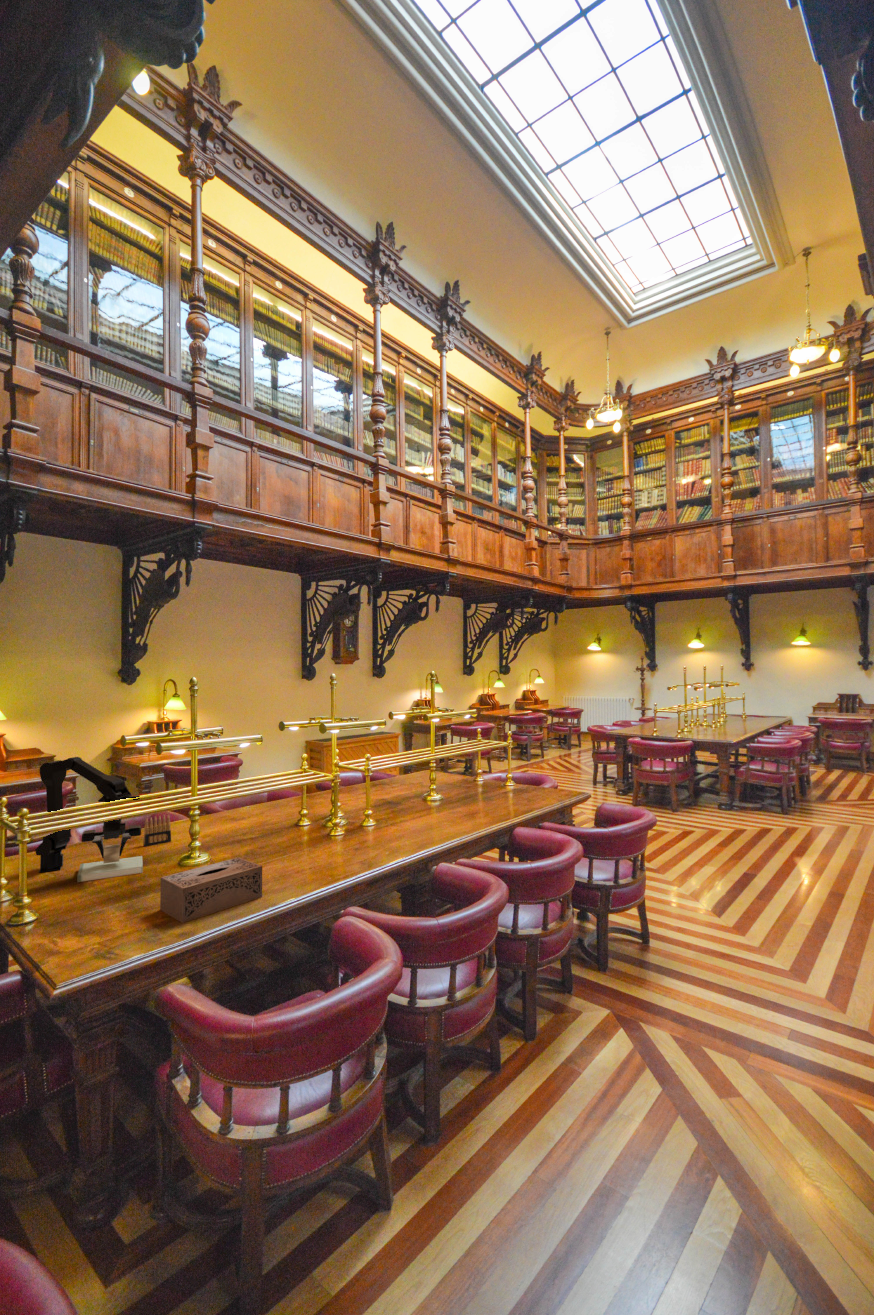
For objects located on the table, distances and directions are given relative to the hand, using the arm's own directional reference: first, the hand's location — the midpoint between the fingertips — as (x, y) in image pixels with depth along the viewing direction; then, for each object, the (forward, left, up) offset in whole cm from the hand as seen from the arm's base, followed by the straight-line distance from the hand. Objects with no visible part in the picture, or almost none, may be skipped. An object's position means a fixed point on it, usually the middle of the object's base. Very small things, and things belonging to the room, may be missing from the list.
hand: (111, 857), depth 207 cm
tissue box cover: (+29, -50, -6) cm, 58 cm away
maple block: (0, 0, -1) cm, 1 cm away
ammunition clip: (+16, +32, -6) cm, 36 cm away
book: (0, 0, -5) cm, 5 cm away
